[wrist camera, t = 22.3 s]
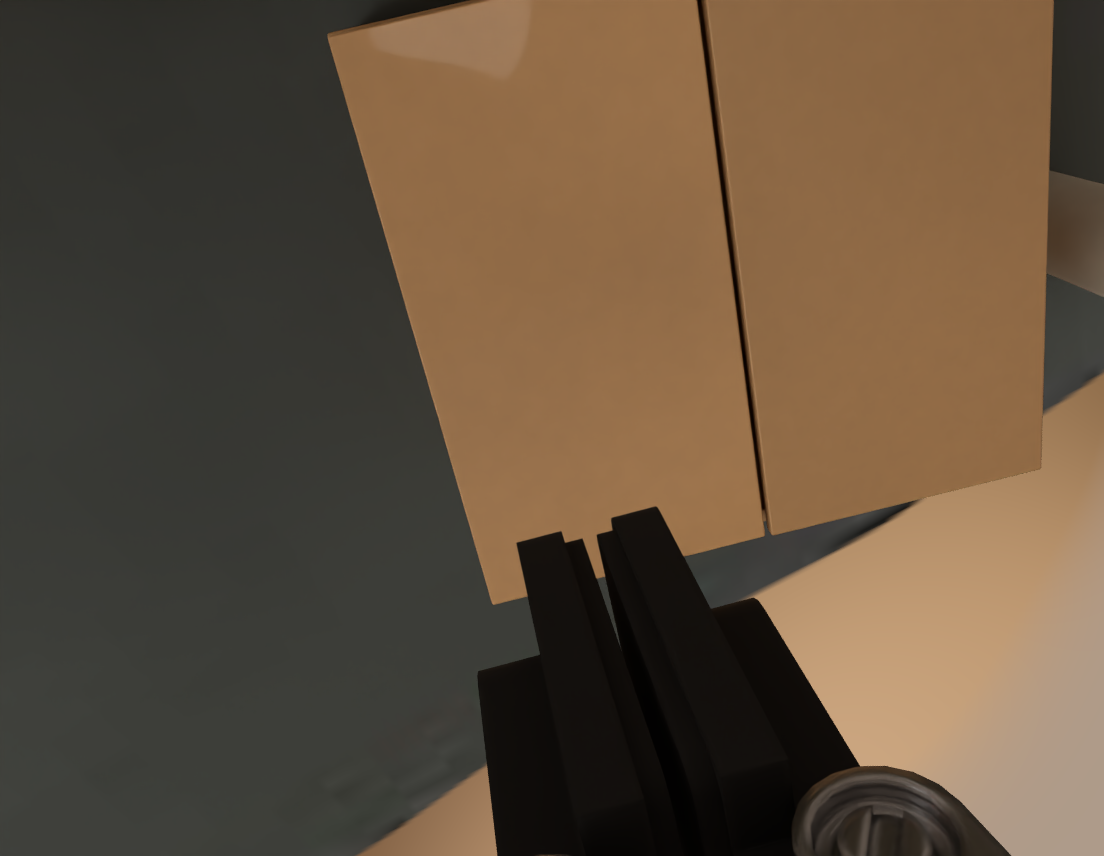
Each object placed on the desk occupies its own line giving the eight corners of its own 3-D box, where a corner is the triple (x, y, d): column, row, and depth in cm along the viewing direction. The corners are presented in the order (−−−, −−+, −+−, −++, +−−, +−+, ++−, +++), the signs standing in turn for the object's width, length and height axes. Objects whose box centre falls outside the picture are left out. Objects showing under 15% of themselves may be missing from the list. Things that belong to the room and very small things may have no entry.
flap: (491, 596, 24) (492, 605, 23) (328, 35, 18) (326, 36, 18) (760, 528, 24) (765, 536, 24) (686, -47, 18) (691, -49, 18)
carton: (474, 458, 31) (490, 608, 24) (355, 26, 25) (322, 34, 18) (891, 356, 32) (1044, 470, 24) (869, -93, 26) (1062, -138, 18)
